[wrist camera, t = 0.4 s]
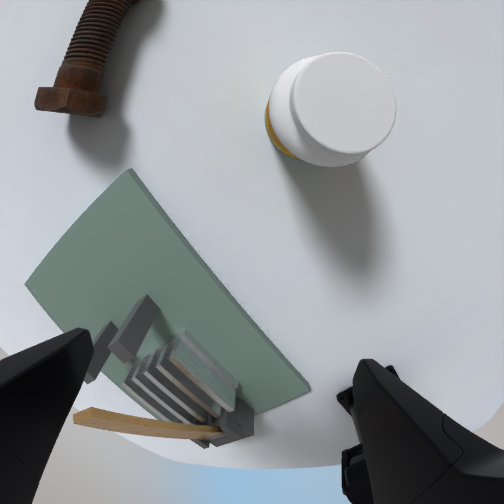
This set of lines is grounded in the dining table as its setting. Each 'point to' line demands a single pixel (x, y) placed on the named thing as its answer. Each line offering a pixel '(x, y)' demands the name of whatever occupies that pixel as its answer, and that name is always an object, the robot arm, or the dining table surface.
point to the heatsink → (181, 381)
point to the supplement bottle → (330, 109)
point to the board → (155, 292)
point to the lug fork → (122, 337)
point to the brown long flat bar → (145, 425)
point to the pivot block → (230, 424)
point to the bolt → (85, 61)
